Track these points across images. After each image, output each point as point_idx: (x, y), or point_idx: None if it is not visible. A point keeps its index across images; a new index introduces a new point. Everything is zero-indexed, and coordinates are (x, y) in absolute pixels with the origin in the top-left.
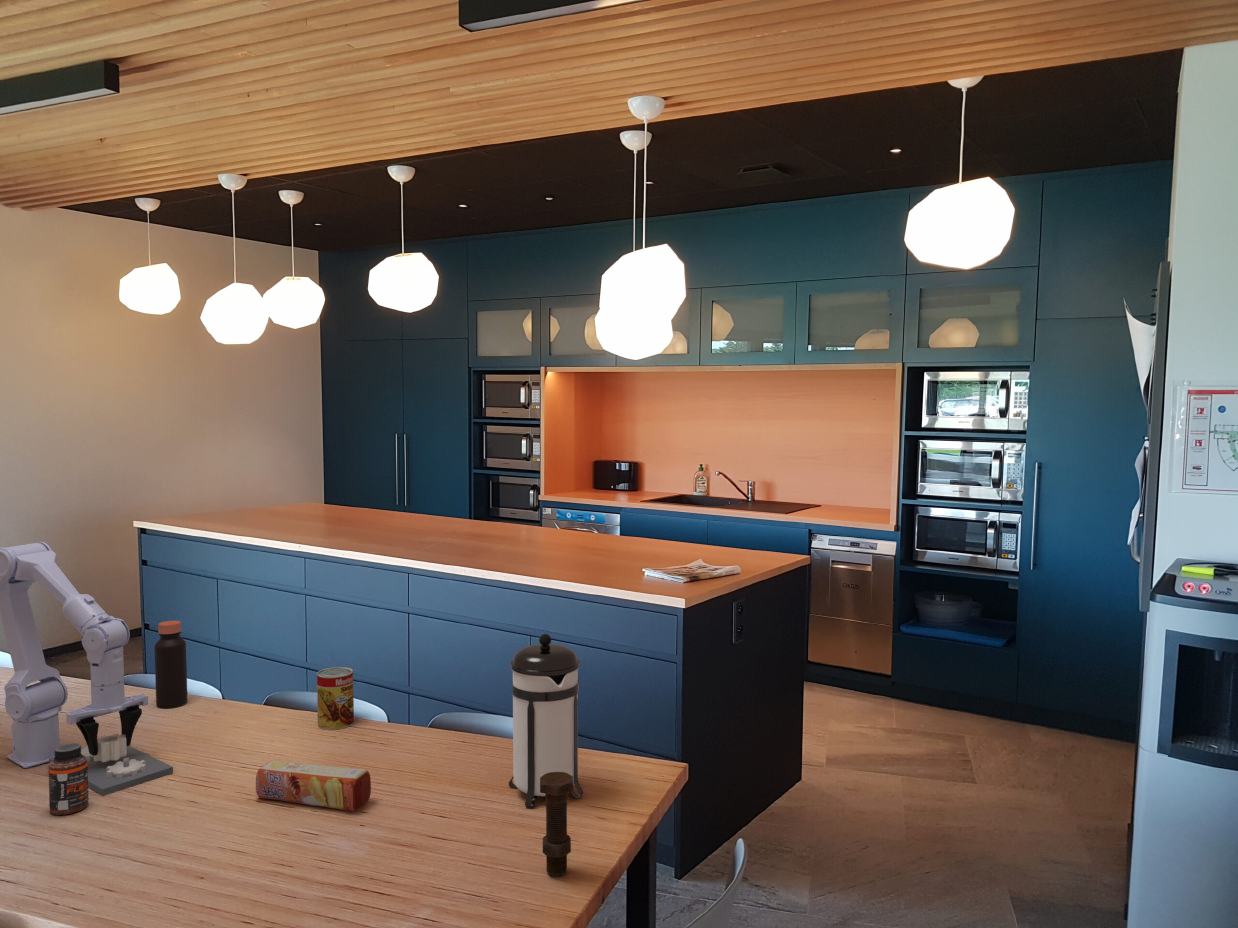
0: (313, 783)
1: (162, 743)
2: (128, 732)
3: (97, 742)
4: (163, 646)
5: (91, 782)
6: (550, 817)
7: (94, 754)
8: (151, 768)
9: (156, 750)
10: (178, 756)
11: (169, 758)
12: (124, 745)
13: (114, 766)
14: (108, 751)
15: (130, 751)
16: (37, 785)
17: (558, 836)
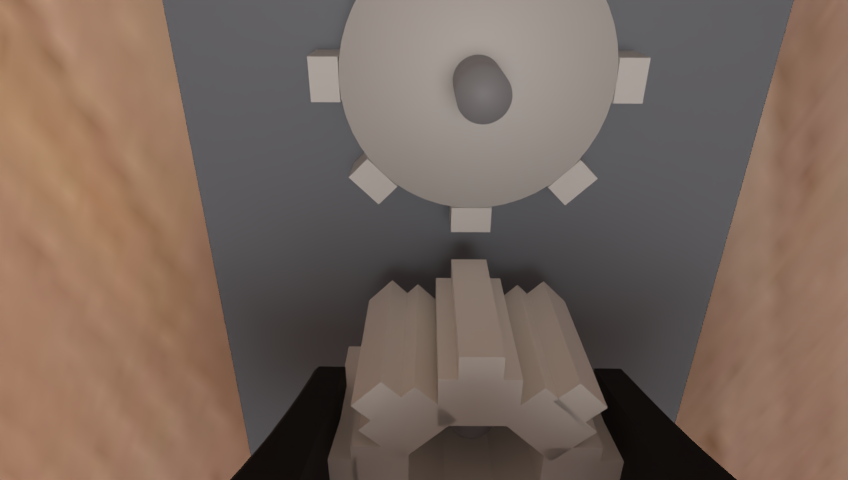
0: None
1: (79, 432)
2: (311, 452)
3: (592, 474)
4: None
5: (769, 63)
6: None
7: (623, 371)
8: None
9: (137, 364)
10: (30, 152)
11: (98, 168)
12: (388, 336)
13: (540, 159)
14: (532, 335)
15: (288, 405)
16: (837, 378)
17: None
